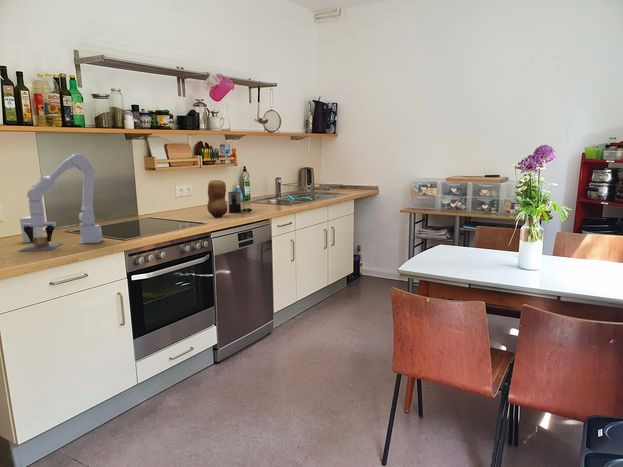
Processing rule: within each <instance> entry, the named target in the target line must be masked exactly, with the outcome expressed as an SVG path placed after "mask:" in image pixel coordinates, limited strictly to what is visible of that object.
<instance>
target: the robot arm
mask: <svg viewBox="0 0 623 467" xmlns="http://www.w3.org/2000/svg"><path fill="white" fill-rule="evenodd" d="M93 167H94V166H93V165H92V163H91V162H90V160H89V159H88V157H86V156H85V155H84V154H82V153H73V154H71V155H70V156H69V157H68V158H66V159H64V160H63V161H62V162H61V163H60V164H59V165H58V166H57V167H56V168H55V169H54V171H52V173H50V175H44V176H43V177H42V176H40V178H39V181H38V182H36V184H35V185H34V184H32V186H31V187H32V188H30V189H29V190H28V191H27V193H26V196H27V198H28V203H29V204H28V206H29V208H28V209H29V216H31V223H22V224H21V223H20V228H21V227H22V228H24V229H23V230H24V232H25V233H26V234H27V236H28V237H29V239H30V242H29V243H31V244H33V238H34V237H33V227H43V228H44V227H45V234H46V237H47V240H48V242H51V241H52V236H53V233H54V229H55V228H56V226H57V223H56V221H46V217H45V211H44V203H43V198H44V197H43V196H44V195H45V194H47V193H48V192H49V191H50V190H51V189H52V188H53V187H55V184H56V182H55V181H56V180H57V179H59V177H61V175H63V174H64V173H65V172H66V171H67V170H70V169H74V168H77V169H78V170H79V171H81V173H82V174H83V178H82V180H83V181H82V200H81V208H80V212H79V214H78V220H79V221H80V223H79V232H80V241H79V242H78V244H81V245H82V244H99V243H100V242H102V241H103V232H102V227H101V224H97V223H96V222H95V221H96V215H95V214H94V190H95V169H94V168H93ZM37 225H43V226H37Z"/></svg>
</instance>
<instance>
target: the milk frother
mask: <svg viewBox="0 0 623 467" xmlns="http://www.w3.org/2000/svg"><path fill="white" fill-rule="evenodd" d="M227 193H228V194H227V195H228V196H227V198H228V199H227V200H228V213H229V214H238V213H242V212H244V213H246V212H247V213H251V212H252V211H253V209H252V208H243V209H242V207H241V206H242V205H241V204H242V203H241V191H228V192H227Z"/></svg>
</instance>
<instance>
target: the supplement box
mask: <svg viewBox="0 0 623 467" xmlns="http://www.w3.org/2000/svg"><path fill="white" fill-rule="evenodd" d="M19 223H20V225H21V224H22V223H31V216H30V215H29V216H24V217H20V218H19ZM37 226H43V225H37ZM20 229H21V235H22V242H23V243H24V244H25V243H31V242H30V239H29V237H28V236H27V234H26V233H25V232H24V230H23V229H24V228H22V227H21V226H20ZM40 236H45V232H44V227H33V237H40Z"/></svg>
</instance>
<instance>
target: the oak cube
mask: <svg viewBox="0 0 623 467" xmlns="http://www.w3.org/2000/svg"><path fill="white" fill-rule="evenodd" d="M32 244H33V245H34V247H36V248H42V247H47V246H49V244H50V243H49V242H48V240H47V235H46V236H45V235H44V236H40V237H34V238H33V242H32Z"/></svg>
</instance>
